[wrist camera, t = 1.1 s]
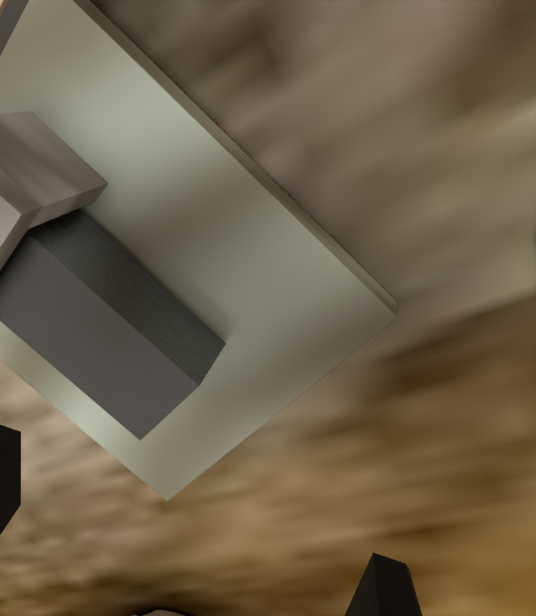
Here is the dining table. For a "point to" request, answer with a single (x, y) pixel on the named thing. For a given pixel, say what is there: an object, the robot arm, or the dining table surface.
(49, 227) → the charcoal brick
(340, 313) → the base
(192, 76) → the dining table surface
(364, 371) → the dining table surface
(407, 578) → the robot arm
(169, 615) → the flower pot
